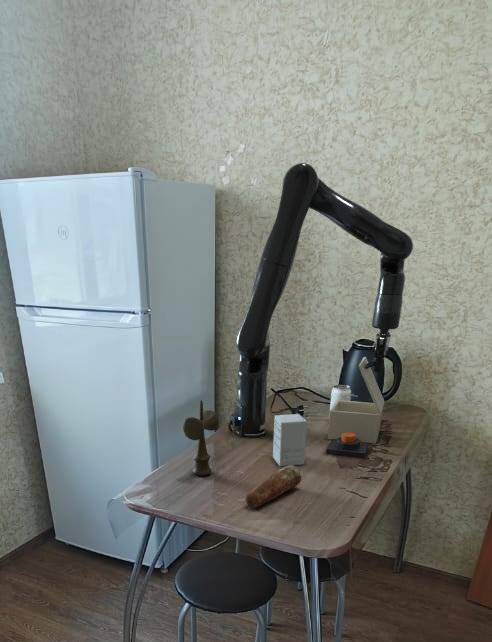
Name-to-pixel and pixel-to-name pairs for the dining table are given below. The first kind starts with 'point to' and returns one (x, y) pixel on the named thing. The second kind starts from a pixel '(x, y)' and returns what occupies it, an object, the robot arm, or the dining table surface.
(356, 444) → the button block
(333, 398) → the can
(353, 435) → the release button
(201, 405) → the kendama
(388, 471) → the dining table surface
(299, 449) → the white packaging box
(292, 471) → the bread
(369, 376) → the box lid
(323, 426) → the dining table surface
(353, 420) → the hinged lid box
